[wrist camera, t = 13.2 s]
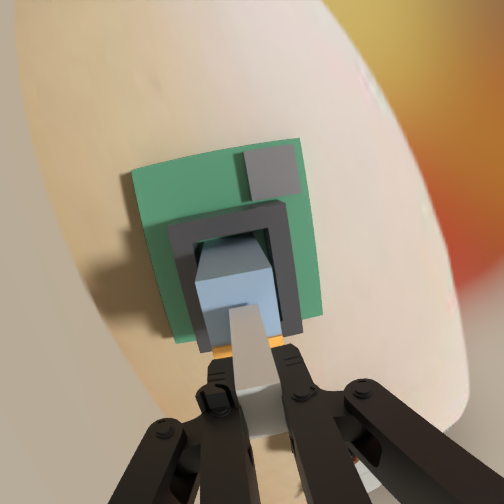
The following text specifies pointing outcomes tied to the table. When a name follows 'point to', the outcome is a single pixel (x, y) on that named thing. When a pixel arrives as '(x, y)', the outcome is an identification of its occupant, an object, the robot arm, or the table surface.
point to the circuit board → (230, 227)
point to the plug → (235, 288)
